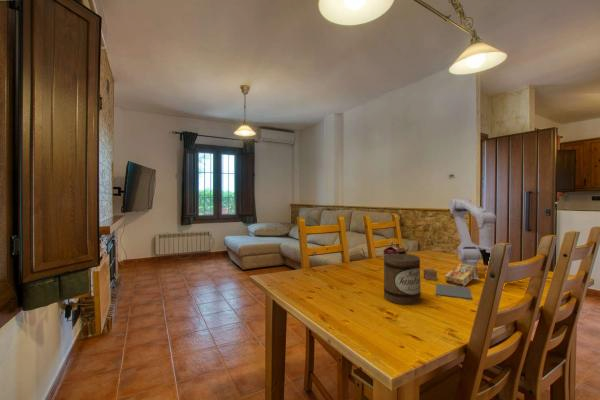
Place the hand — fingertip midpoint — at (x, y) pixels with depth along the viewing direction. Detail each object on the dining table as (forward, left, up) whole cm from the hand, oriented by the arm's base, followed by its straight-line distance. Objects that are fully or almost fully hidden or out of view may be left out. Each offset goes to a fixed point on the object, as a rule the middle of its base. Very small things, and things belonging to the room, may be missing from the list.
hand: (486, 265), depth 136 cm
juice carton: (+21, -41, -11) cm, 47 cm away
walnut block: (-2, -25, -11) cm, 27 cm away
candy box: (+4, -14, -8) cm, 17 cm away
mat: (+15, -15, -10) cm, 24 cm away
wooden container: (+34, -35, -11) cm, 50 cm away
